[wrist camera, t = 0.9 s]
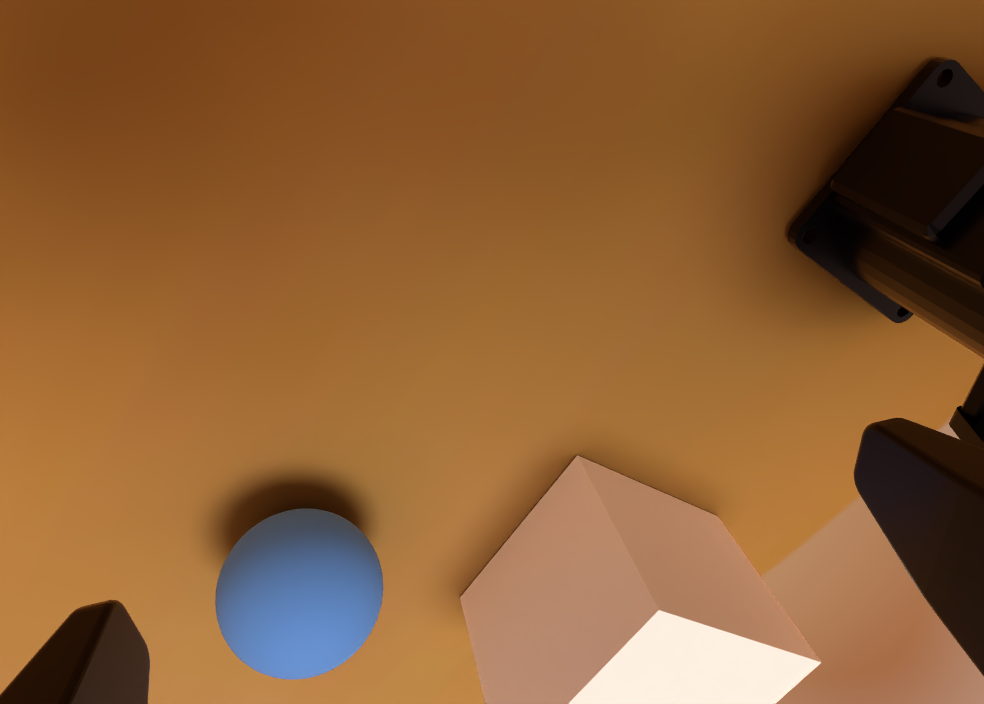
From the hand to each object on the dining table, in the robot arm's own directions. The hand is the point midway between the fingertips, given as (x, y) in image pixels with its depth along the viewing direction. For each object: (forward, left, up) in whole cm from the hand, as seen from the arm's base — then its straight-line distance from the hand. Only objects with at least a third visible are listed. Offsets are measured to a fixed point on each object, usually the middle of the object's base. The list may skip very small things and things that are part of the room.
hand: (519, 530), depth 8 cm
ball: (-3, +12, -10) cm, 16 cm away
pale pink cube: (-14, +9, -13) cm, 21 cm away
